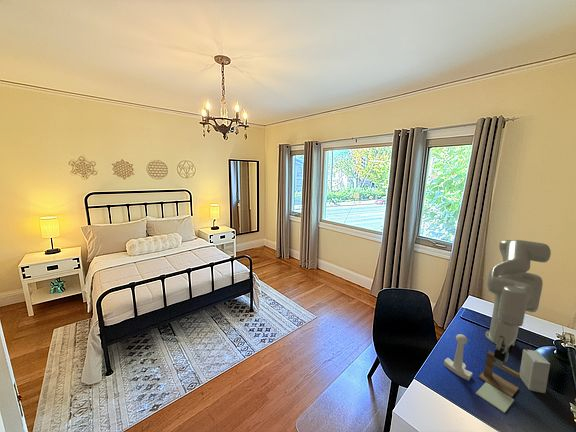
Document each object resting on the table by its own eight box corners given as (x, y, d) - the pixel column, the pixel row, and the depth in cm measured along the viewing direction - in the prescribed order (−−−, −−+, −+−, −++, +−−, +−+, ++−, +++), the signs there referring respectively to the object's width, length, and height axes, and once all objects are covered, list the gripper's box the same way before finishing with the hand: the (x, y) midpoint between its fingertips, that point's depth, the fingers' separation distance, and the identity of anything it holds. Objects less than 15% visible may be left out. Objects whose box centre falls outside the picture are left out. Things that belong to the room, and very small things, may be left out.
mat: (485, 383, 111) (485, 381, 111) (514, 400, 102) (514, 399, 102) (475, 393, 106) (475, 392, 106) (504, 413, 97) (504, 412, 97)
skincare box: (545, 394, 105) (552, 365, 102) (528, 390, 107) (534, 362, 104) (533, 377, 113) (539, 350, 110) (517, 374, 115) (522, 348, 112)
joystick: (442, 365, 121) (447, 330, 117) (450, 358, 125) (455, 324, 121) (467, 381, 112) (473, 344, 108) (475, 374, 115) (481, 338, 111)
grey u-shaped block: (502, 357, 103) (505, 341, 101) (507, 360, 101) (510, 344, 100) (495, 364, 99) (498, 348, 98) (500, 367, 98) (503, 351, 96)
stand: (486, 370, 118) (490, 347, 115) (519, 389, 107) (524, 364, 105) (478, 377, 114) (482, 354, 111) (512, 398, 103) (517, 373, 101)
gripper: (506, 305, 103) (500, 341, 107) (489, 319, 95) (482, 358, 98) (530, 314, 97) (522, 352, 101) (514, 330, 88) (505, 371, 92)
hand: (502, 355), depth 100 cm, fingers closed on grey u-shaped block, 7 cm apart
